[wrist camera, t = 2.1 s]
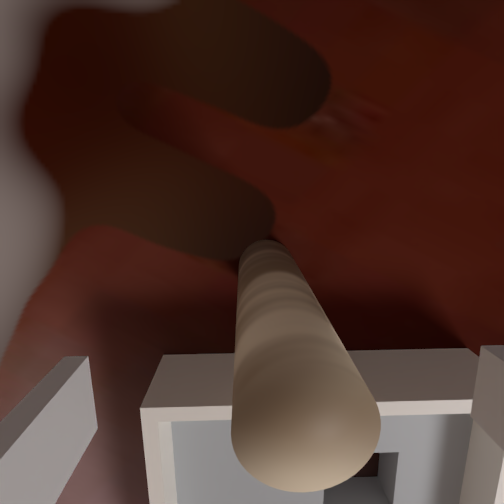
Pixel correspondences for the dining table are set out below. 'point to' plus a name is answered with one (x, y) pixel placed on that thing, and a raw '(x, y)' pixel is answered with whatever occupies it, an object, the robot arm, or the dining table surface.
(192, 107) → the dining table surface
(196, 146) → the dining table surface
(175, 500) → the box
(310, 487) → the peg
